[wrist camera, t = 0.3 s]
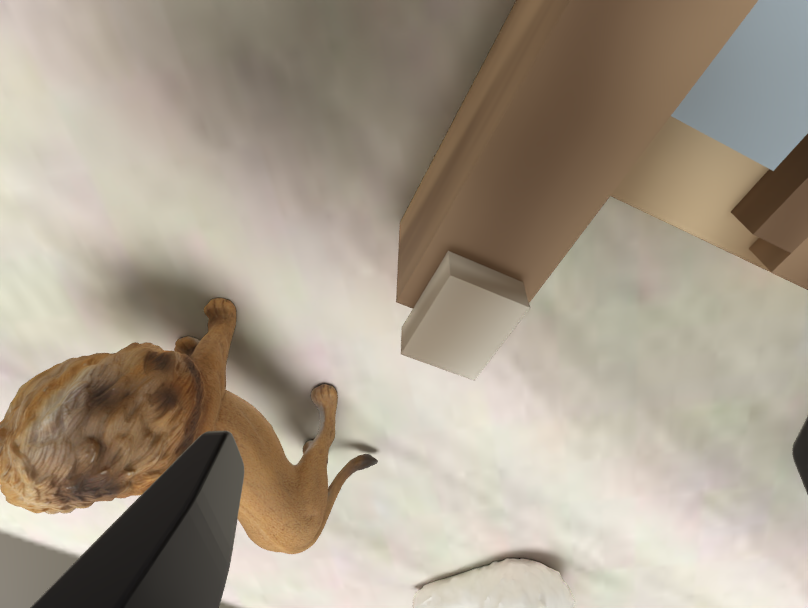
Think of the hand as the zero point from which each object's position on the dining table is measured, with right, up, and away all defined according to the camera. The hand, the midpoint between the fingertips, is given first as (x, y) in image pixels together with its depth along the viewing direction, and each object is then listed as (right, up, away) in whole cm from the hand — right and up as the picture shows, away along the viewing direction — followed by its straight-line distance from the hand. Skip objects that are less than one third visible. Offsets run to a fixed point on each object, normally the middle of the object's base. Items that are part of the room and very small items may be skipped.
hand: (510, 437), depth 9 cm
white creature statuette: (+5, -15, +27) cm, 31 cm away
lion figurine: (-9, -1, +16) cm, 18 cm away
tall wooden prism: (+2, +9, +9) cm, 12 cm away
